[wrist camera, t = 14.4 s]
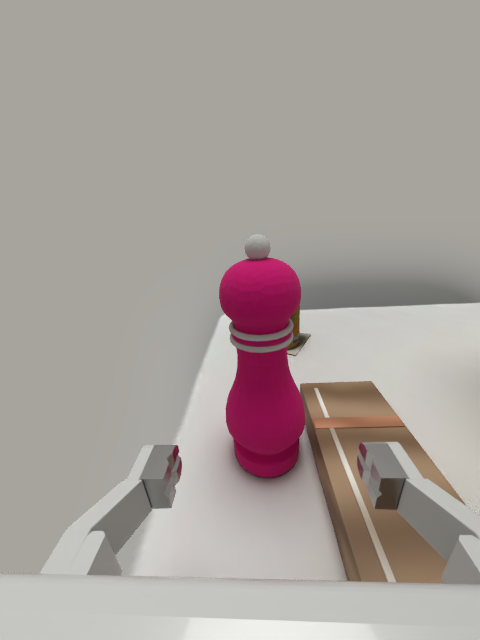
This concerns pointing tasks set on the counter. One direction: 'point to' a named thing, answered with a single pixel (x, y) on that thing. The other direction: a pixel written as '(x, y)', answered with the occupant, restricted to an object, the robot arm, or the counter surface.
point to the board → (351, 492)
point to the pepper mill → (263, 361)
